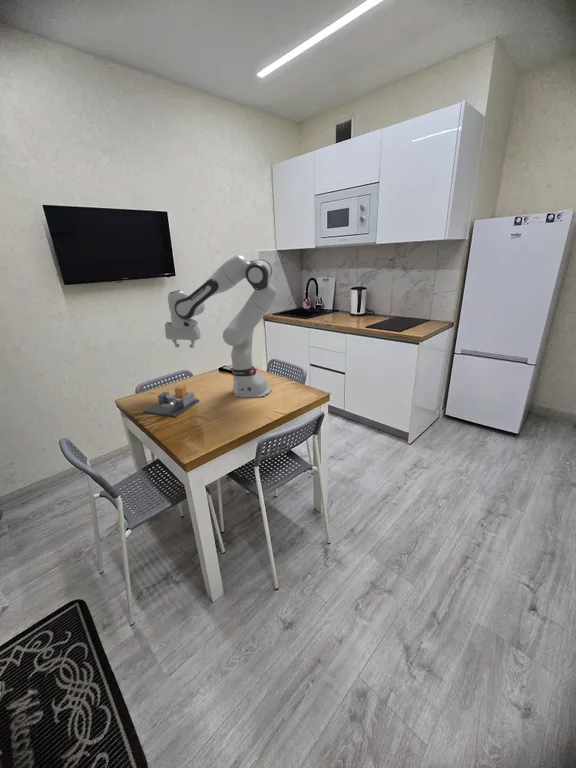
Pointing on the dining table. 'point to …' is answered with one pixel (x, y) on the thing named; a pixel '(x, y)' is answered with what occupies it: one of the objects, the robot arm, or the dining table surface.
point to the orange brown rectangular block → (180, 391)
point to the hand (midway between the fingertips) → (184, 347)
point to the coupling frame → (172, 404)
